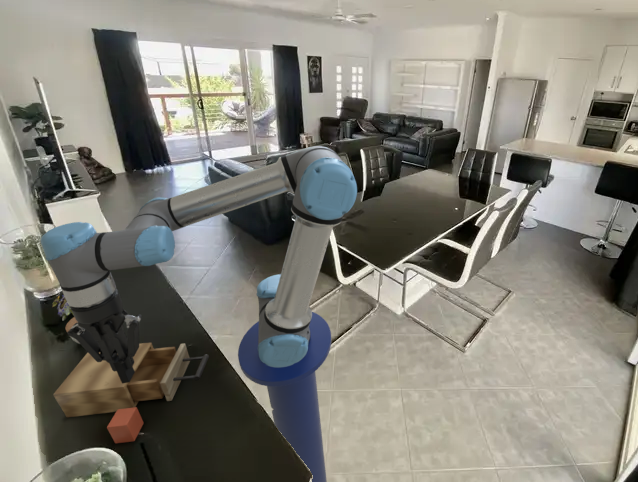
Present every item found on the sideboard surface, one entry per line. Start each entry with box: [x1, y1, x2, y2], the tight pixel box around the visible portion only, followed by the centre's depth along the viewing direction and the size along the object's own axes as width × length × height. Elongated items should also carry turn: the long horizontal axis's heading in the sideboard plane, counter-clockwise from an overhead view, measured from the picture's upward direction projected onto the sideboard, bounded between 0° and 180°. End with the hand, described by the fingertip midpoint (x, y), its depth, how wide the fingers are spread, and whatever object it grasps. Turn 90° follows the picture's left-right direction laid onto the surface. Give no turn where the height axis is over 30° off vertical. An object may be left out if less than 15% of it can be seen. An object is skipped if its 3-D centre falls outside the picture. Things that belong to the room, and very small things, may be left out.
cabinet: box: [52, 342, 155, 418], centre depth 85 cm, size 16×14×9 cm
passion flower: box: [51, 294, 73, 322], centre depth 112 cm, size 11×11×12 cm
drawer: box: [127, 342, 210, 402], centre depth 87 cm, size 21×12×7 cm, turn 97°
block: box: [106, 406, 144, 444], centre depth 76 cm, size 4×4×6 cm
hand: (128, 377), depth 74 cm, fingers closed
